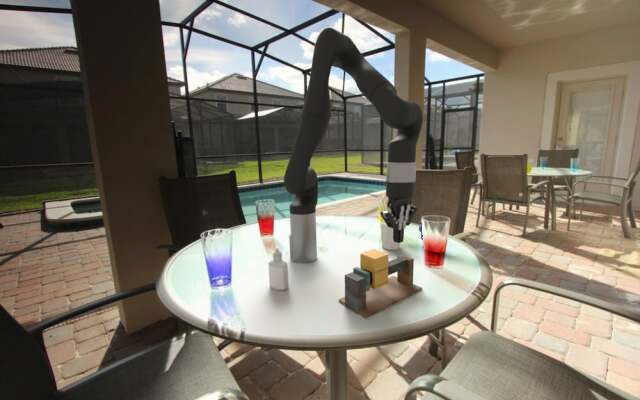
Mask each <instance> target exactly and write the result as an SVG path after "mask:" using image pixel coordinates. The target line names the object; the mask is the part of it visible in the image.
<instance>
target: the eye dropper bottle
mask: <svg viewBox="0 0 640 400" xmlns="http://www.w3.org/2000/svg"><path fill="white" fill-rule="evenodd" d="M268 279H269V287H270V288H271V289H273V290H276V291H285V290H287V289H289V286H290V285H289V283H290V282H289V266H288V263H287V262H286V261H285V260H284V259H283V256H282V251H280V249H279V247H275V251H273V252H272V260H270V261H269V262H268Z"/></svg>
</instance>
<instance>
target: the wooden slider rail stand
mask: <svg viewBox="0 0 640 400" xmlns="http://www.w3.org/2000/svg"><path fill="white" fill-rule="evenodd" d="M414 261H415V258H413V257H411V256H407V255H404V254H400V255H398V256H397V258H394V259H391V260H388V284H386V285H384V286H381V287H379V288H377V289H373V288H371V287H370V283H372V272H370V271H367V270H362V269H360V267H358V266H356V267H353V268H352V270H353V271H352V272H349V273H347V274H345V275H344V296H343V297H340V298H339V299H338V303H340V304H342V305H343V306H344V307H346V308H348V309H349V310H351V311H352V312H354V313H355V314H357V315H360V316H361V317H363V318H364V319H369V318H370V317H372V316H374V315H377V314H378V313H380V312H383V310H386V309H388V308H389V307H391V306H394V305H395V304H397V303H399V302H401V301H404V300H405V299H407V298H410V297H411V296H413V295H414V294H416V293H419V292H420V291H422V290H423V287H421V286H419V285H417V284H414ZM394 273H396V274H397V275H396V276H395V275H393V274H394ZM391 275H392V276H391Z"/></svg>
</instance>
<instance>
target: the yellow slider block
mask: <svg viewBox="0 0 640 400" xmlns="http://www.w3.org/2000/svg"><path fill="white" fill-rule="evenodd" d="M359 258H360V261H359V262H360V263H359V264H360V265H359V266H360V267H359V268H360V269H362V270H367V271H370V272H372V283H370V287H371V288H373V289H377V288H379V287H381V286H384V285H386V284H388V278H389V275H388V262H389V253H386V252H383V251H381V250H377V249H370V250H368V251H363V252H360V257H359Z"/></svg>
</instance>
